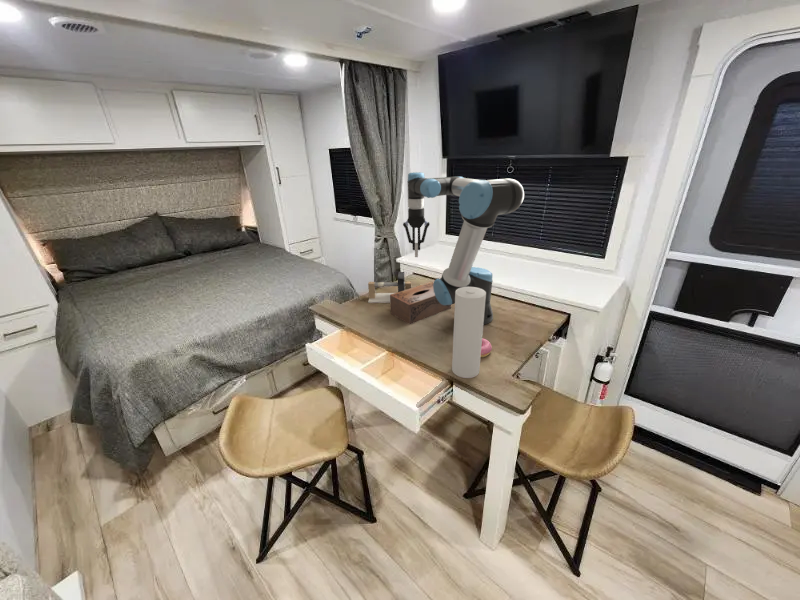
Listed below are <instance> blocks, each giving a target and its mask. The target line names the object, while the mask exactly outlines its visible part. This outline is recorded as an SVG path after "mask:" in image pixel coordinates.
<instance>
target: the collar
mask: <svg viewBox="0 0 800 600" xmlns="http://www.w3.org/2000/svg"><path fill="white" fill-rule="evenodd" d="M397 282H398V286H397V293H398V292H401V291H404V290H405V286H404V282H405V271H398V275H397Z"/></svg>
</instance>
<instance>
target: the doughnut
mask: <svg viewBox="0 0 800 600" xmlns="http://www.w3.org/2000/svg"><path fill="white" fill-rule="evenodd" d="M492 350H493V346H492V343H491V342H490V341H489V340H487V339H486V338H483V337H482V346H481V357H480V358H485V357H487V356H488V355H489V354H491V352H492Z"/></svg>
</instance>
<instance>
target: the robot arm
mask: <svg viewBox="0 0 800 600" xmlns="http://www.w3.org/2000/svg"><path fill="white" fill-rule="evenodd" d="M524 190H525V189H524V187H523V185H522V184H521V183H520V182H519V181H518V180H516V179H513V178H499V179H487V180H486V179H474V178H468V177H467V178H466V177H463V176H458V175H457V176H456V175H454V176H447V177H445V176H444V177H429V178H425V173H424V172H421V171H420V172H417V171H415V172H413V171H412V172H409V173H407V208H408V209H407V211H408V213H407V214H408V215H407V217H408V218H407V219H406V221H404V222H402V226H403V227H404V229H405V232H406V237H407V240H408V243H409V244H412V251H414V257H415V258H418V257H419V251H421V244H422V243H424V242H425V239H426V234H427V231H428V228H429V227H430V221H427V220H426V218H425V208H424V207H425V198H427V199H430V198H431V199H433V198H437V197H440V196H441V197H442V196H457V197H459V198H458V204H459V206H458V209H459V212H460V214H461V218H462V220H463V222H462V225H461V229H460V232H459V235H458V238H457V240H456V244H455V246H454V247H455V248H454V250H453V254H452V256H451V259H450V261H449V262H450V263H449V266H448V267H447V268H444V270H443V271H442V273H441V274H442V275H441V277H440V278H436V279H435V280H434V281H433V289H434V293H435V296H436V298H437V300H438V301H439V303H440V304H442V305H451V306H452V305H455V291H456V290H457V289H458V288H461V287H477V288H480V289H483V290H484V291H485V292H486V299H485V311H484V322H483V325H487V324H489V323H492V321H493V319H494V312H493V309H492V306H491V305H492V304H491V300H492V299H491V298H492V297H491V296H492V288H493V273H492V271H490V270H488V269H486V268H482V267H476V266H473V265H474V264H475V260H476V258H477V256H478V252H479V250H480V247H481V245H482V242H483V241H484V238H485V235H486V232H487V230H488V228H492V227H493V226H494V224H495V222H496V220H497V217H498V216H501V215H508V214H511V213H514V212H515V211H516V210H518V209H519V208H520V206H521V205H522V203H523V201H524V199H525V191H524ZM423 225H424V229H423V232H422V237H421V228H422V226H423ZM409 226H410V227H411V228H412V229H411V230H412V232H411V234H412V235H411V234H410V230H409ZM416 228H417V242H416Z"/></svg>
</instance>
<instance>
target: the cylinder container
mask: <svg viewBox="0 0 800 600" xmlns="http://www.w3.org/2000/svg"><path fill="white" fill-rule="evenodd" d="M485 299H486V292H485V291H484V290H483V289H480V288H477V287H461V288H458V289H457V290H456V291H455V304H454V314H453V316H454V317H453V318H454V320H453V338H452V339H453V340H452V360H451V371H452V372H453V374H454V375H456V376H457V377H460V378H464V379H472V378H475V377H477V376H478V375H479V374H480V367H481V366H480V365H481V358H482V357H481V346H482V338H483V334H484V324H483V322H484V311H485Z"/></svg>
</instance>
